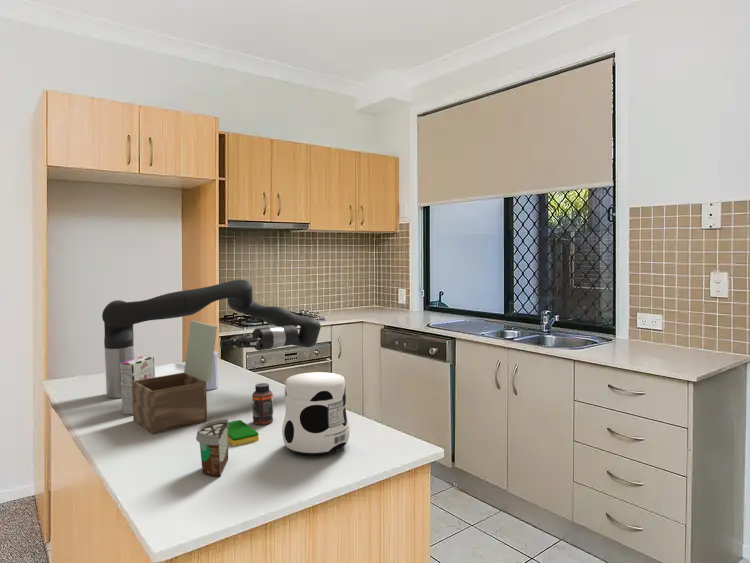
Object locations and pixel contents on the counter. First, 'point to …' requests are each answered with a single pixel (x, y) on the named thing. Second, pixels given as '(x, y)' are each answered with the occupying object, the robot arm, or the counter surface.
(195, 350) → the lid
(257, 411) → the supplement bottle
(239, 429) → the dish sponge
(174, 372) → the salad plate
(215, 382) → the soap bottle
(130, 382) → the candy bar box
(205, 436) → the food container
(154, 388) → the walnut box
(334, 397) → the milk container
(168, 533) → the counter surface
